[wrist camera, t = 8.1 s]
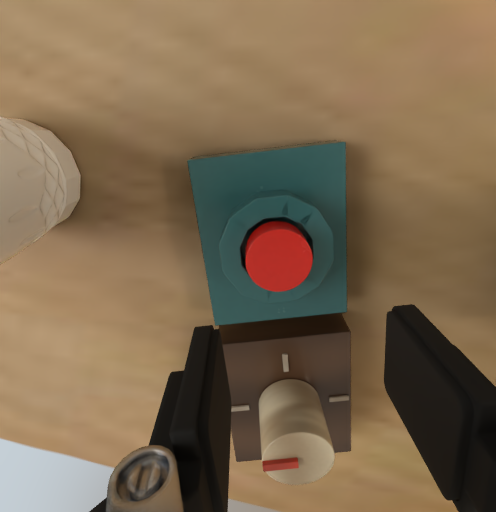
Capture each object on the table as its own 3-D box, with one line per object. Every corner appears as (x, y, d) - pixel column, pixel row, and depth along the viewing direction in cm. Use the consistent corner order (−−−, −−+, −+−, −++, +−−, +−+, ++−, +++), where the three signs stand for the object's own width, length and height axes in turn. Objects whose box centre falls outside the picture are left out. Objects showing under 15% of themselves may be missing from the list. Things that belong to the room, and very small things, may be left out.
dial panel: (340, 420, 29) (351, 453, 26) (237, 430, 29) (236, 464, 26) (338, 308, 25) (351, 333, 22) (219, 321, 26) (216, 347, 23)
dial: (317, 375, 24) (335, 433, 19) (321, 422, 25) (337, 486, 21) (255, 382, 24) (258, 441, 19) (262, 429, 25) (266, 493, 21)
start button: (308, 275, 20) (314, 288, 19) (248, 281, 20) (249, 295, 19) (305, 217, 19) (311, 225, 17) (241, 224, 19) (241, 233, 18)
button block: (338, 297, 25) (355, 327, 21) (217, 309, 25) (212, 341, 21) (335, 140, 21) (356, 143, 17) (192, 156, 21) (181, 163, 18)
